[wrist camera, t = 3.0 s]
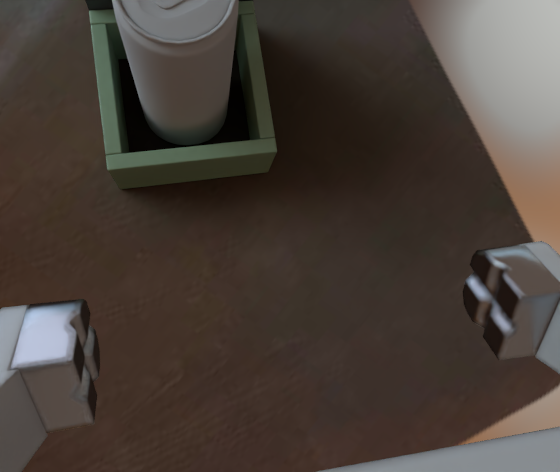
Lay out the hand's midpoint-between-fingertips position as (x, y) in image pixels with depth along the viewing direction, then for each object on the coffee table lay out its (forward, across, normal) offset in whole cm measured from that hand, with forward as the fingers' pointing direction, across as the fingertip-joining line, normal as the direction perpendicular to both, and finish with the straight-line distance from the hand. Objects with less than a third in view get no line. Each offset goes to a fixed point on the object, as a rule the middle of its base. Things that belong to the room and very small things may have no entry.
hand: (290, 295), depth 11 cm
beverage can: (+22, +2, +5) cm, 23 cm away
